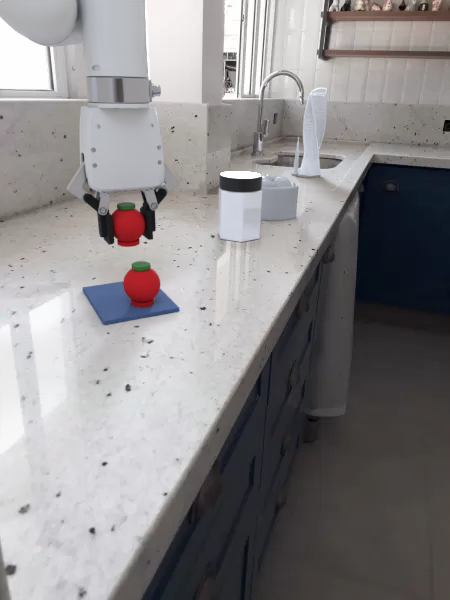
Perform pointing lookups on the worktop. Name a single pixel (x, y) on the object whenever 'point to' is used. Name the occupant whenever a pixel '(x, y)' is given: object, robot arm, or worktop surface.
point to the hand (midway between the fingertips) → (128, 238)
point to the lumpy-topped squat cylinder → (278, 198)
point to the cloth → (124, 303)
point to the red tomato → (128, 224)
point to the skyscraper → (312, 135)
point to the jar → (239, 206)
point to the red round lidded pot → (141, 284)
